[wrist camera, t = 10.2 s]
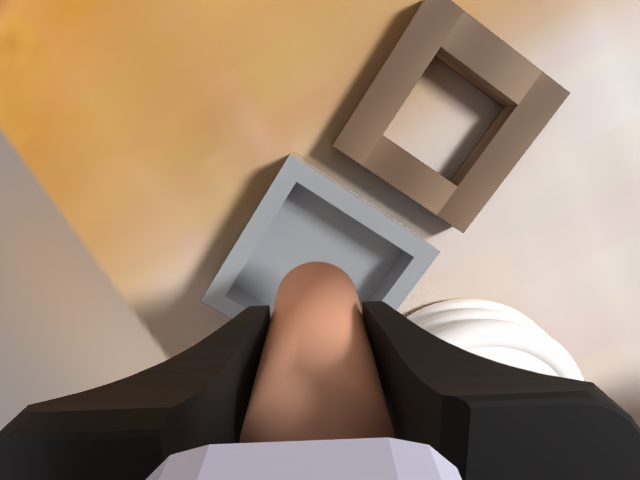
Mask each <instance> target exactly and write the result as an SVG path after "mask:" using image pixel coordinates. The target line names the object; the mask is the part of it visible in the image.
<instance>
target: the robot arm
mask: <svg viewBox="0 0 640 480" xmlns="http://www.w3.org/2000/svg"><path fill="white" fill-rule="evenodd" d="M362 316H363V319H364V323H365V327H366V331H367V334H368V337H369V341H370V344H371V348H372V352H373V355H374V359H375V363H376V367H377V370H378V374H379V378H380V382H381V385H382V389H383V393H384V397H385V400H386V404H387V408H388V412H389V415H390V419H391V423H392V427H393V431H394V435H395V439H394V438H389V437H385V438H360V439H334V440H309V441H283V442H258V443H239V441H240V435H241V431H242V427H243V423H244V419H245V415H246V411H247V407H248V404H249V400H250V396H251V392H252V388H253V384H254V380H255V376H256V373H257V369H258V365H259V361H260V357H261V353H262V349H263V346H264V342H265V338H266V334H267V330H268V327H269V323H270V319H271V318H270V305H264V306H249V307H247V308H246V309H245V310H243V311H242V312H240V313H239V314H238V315H237V316H235V317H234V318H233V319H231V320H230V321H229V322H227V323H226V324H225V325H223V326H222V327H221V328H219V329H218V330H217V331H215V332H214V333H212V334H211V335H209V336H208V337H206V338H205V339H203V340H202V341H200V342H199V343H197V344H196V345H194V346H192V347H191V348H189V349H187V350H185V351H184V352H182V353H180V354H178V355H176V356H174V357H172V358H170V359H169V360H167V361H165V362H163V363H160V364H158V365H156V366H153V367H151V368H149V369H146V370H144V371H141V372H139V373H137V374H134V375H132V376H129V377H127V378H124V379H121V380H118V381H115V382H113V383H110V384H107V385H103V386H100V387H97V388H94V389H90V390H87V391H84V392H80V393H76V394H72V395H68V396H64V397H61V398H56V399H52V400H48V401H44V402H40V403H35V404H31V405H28V406H27V407H26V408H25V409H24V410H22V411H21V412H20V413H19V414H18V415H17V416H16V417H15V418H14V419H13V420H12V421H11V422H10V423H8V424H7V425H6V426H5V427H4V428H3V429H2V430H1V431H0V480H640V428H639V427H638V425H637V424H636V423H635V421H634V420H633V419H632V417H631V416H630V415H629V414H628V413H627V412H625V411H624V410H623V409H622V408H621V407H620V406H619V405H617V404H616V403H615V402H614V401H613V400H612V399H611V398H610V397H608V396H607V395H606V394H605V393H604V392H603V391H602V390H600V389H599V388H598V387H597V386H596V385H595V384H594V383H592V382H586V381H580V380H575V379H569V378H563V377H557V376H552V375H546V374H541V373H537V372H533V371H529V370H525V369H521V368H517V367H513V366H509V365H506V364H503V363H499V362H496V361H493V360H490V359H487V358H484V357H482V356H479V355H476V354H473V353H471V352H468V351H466V350H463V349H461V348H459V347H457V346H455V345H452V344H450V343H448V342H446V341H444V340H442V339H440V338H438V337H436V336H435V335H433V334H431V333H429V332H428V331H426V330H424V329H423V328H421V327H419V326H418V325H416V324H415V323H413V322H412V321H410V320H409V319H407V318H406V317H404V316H403V315H402V314H400V313H399V312H397V311H396V310H395V309H393V308H392V307H391V306H389V305H388V304H386V303H385V302H383V301H365V302H362Z"/></svg>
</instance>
